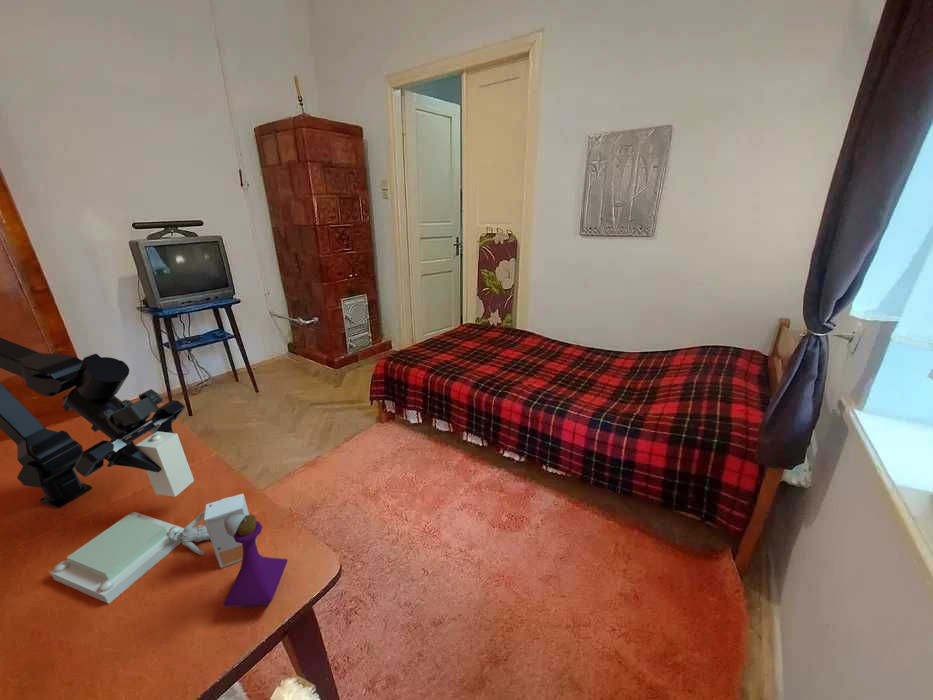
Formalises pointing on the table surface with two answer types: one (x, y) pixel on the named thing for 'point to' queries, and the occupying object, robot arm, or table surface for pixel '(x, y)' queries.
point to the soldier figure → (191, 535)
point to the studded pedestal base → (117, 556)
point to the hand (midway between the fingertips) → (171, 462)
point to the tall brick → (167, 463)
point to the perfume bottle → (252, 566)
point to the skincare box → (214, 521)
